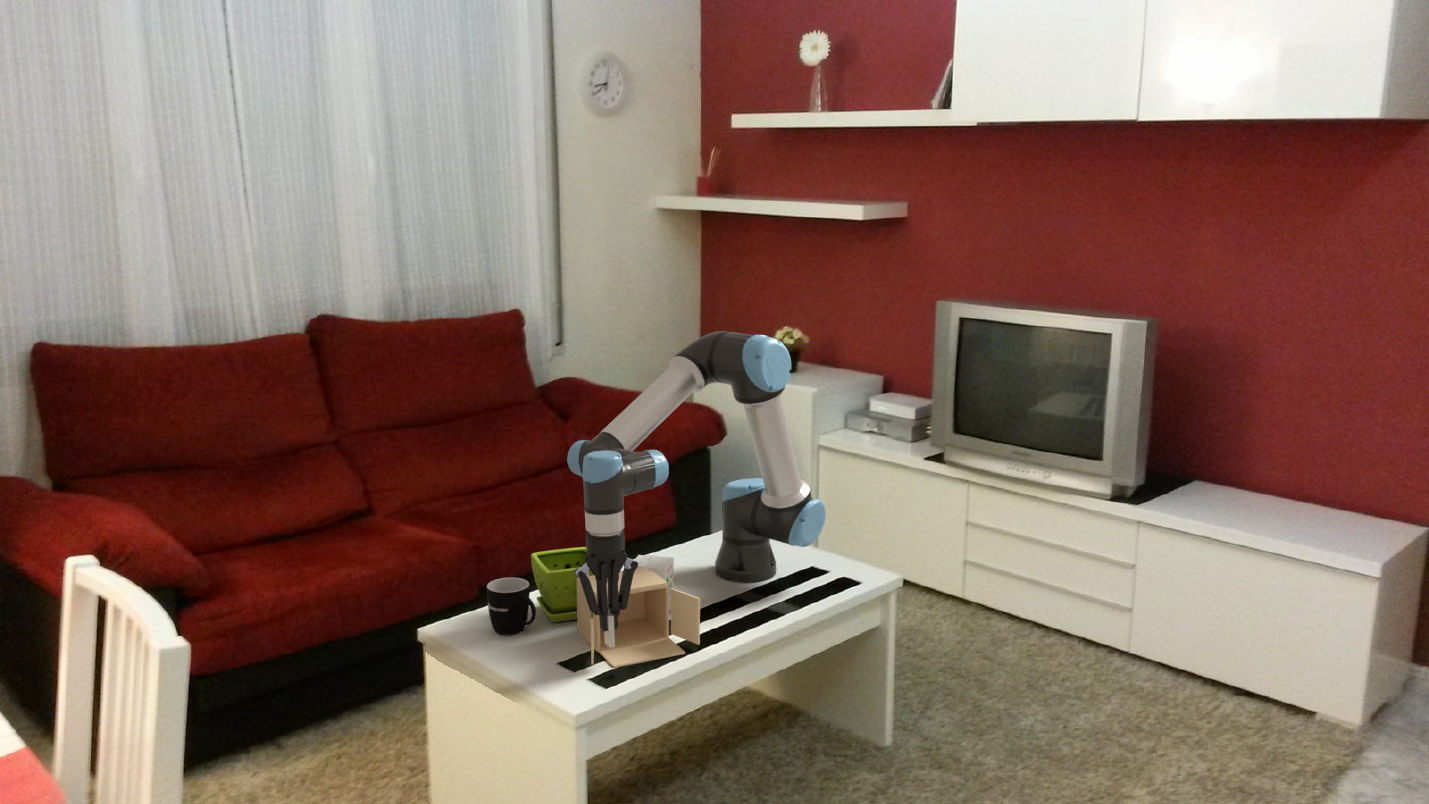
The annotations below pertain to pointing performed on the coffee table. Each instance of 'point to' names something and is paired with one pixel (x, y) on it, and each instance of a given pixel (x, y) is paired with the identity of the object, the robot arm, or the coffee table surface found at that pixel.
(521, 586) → the mug
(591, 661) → the flap
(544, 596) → the flower pot
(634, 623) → the carton
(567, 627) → the coffee table surface
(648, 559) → the ink box
